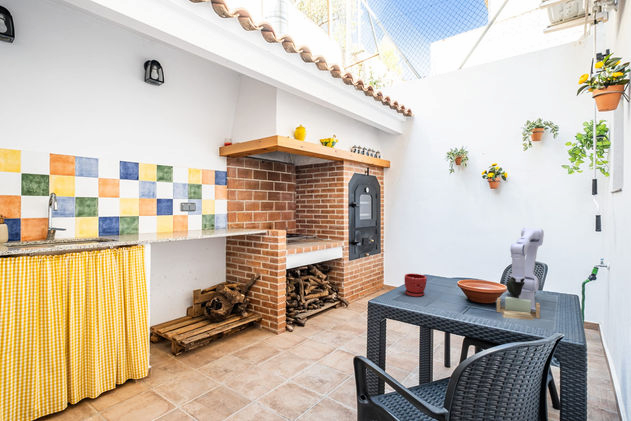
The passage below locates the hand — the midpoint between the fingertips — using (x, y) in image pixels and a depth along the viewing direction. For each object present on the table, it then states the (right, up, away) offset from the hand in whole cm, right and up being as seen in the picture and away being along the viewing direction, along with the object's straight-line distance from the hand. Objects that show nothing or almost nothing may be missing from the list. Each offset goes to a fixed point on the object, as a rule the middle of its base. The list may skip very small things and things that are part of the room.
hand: (517, 293), depth 168 cm
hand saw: (+13, -11, +36) cm, 39 cm away
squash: (+21, -10, +32) cm, 40 cm away
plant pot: (-42, -10, +34) cm, 55 cm away
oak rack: (0, -10, 0) cm, 10 cm away
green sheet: (0, -11, 0) cm, 11 cm away
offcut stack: (-4, -11, -6) cm, 13 cm away
